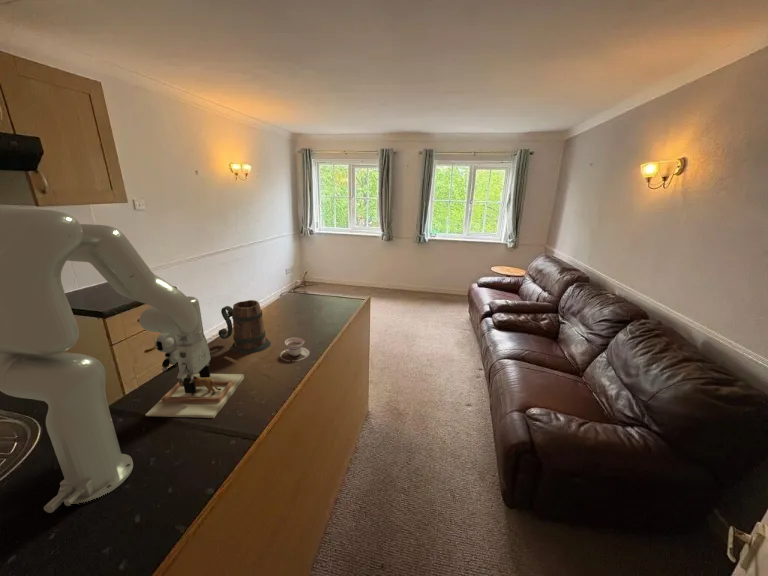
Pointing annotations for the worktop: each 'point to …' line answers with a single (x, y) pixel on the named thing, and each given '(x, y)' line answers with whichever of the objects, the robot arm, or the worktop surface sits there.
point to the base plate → (197, 398)
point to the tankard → (245, 327)
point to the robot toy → (167, 348)
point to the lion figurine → (202, 383)
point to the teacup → (295, 348)
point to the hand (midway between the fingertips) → (198, 384)
